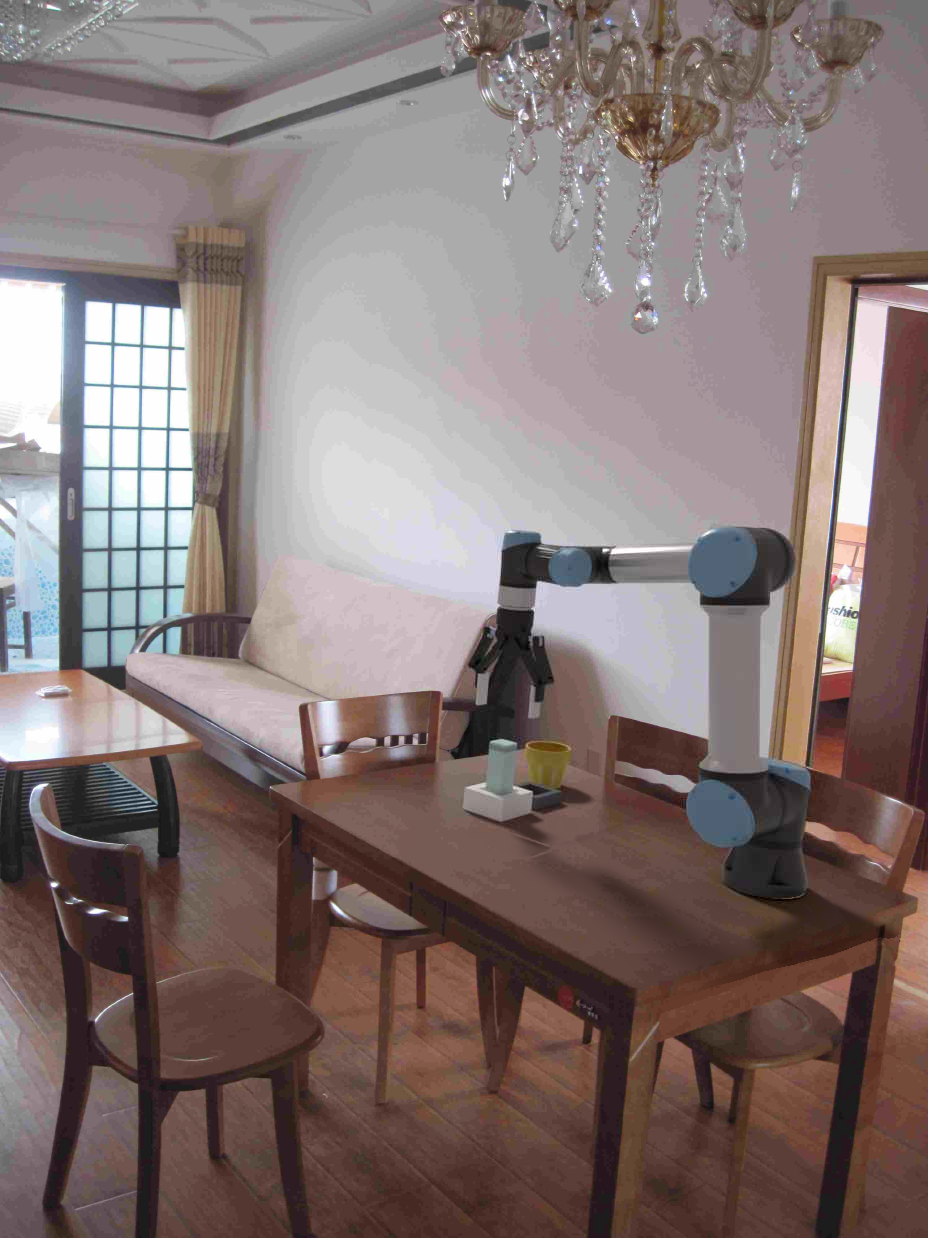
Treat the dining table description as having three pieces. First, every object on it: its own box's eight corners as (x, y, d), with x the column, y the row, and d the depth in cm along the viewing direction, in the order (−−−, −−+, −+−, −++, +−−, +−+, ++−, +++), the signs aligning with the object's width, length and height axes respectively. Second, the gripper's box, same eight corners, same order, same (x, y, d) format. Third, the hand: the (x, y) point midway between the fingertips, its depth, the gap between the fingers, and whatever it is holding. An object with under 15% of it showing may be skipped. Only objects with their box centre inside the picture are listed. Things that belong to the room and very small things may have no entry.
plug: (511, 809, 237) (517, 743, 235) (498, 812, 234) (505, 745, 232) (495, 804, 239) (501, 738, 238) (483, 807, 236) (489, 741, 234)
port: (530, 815, 237) (533, 788, 237) (500, 824, 230) (503, 797, 229) (493, 802, 244) (495, 777, 243) (462, 811, 236) (465, 784, 235)
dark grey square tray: (560, 804, 246) (562, 791, 246) (535, 812, 240) (537, 798, 239) (527, 794, 252) (528, 781, 252) (502, 801, 245) (503, 787, 245)
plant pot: (513, 782, 262) (517, 740, 261) (553, 780, 266) (557, 739, 265) (535, 796, 253) (539, 753, 251) (575, 794, 257) (580, 751, 256)
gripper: (577, 615, 226) (567, 721, 229) (479, 598, 242) (471, 697, 244) (555, 617, 220) (545, 725, 223) (456, 599, 236) (448, 700, 239)
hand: (506, 711), depth 234 cm, fingers open, 13 cm apart
